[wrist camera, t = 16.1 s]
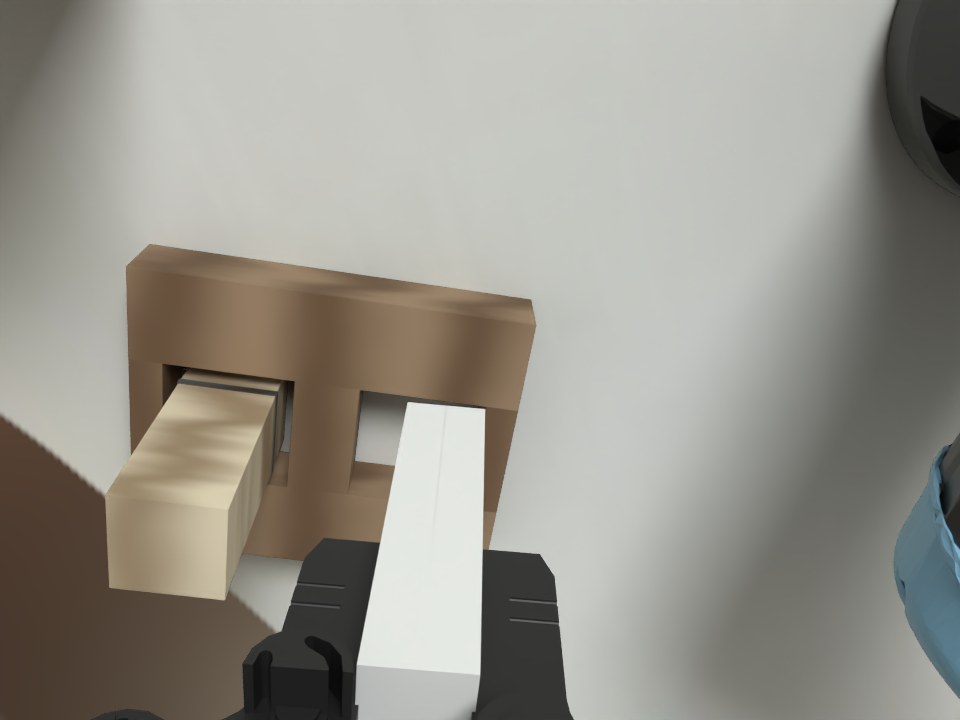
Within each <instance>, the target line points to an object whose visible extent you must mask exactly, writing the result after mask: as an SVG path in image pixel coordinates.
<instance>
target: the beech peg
mask: <svg viewBox="0 0 960 720" xmlns="http://www.w3.org/2000/svg"><path fill="white" fill-rule="evenodd" d="M287 387H288V380H282V379H274V378H267V377H259V376H252V375H244V374H237V373H229V372H222V371H214V370H207V369H199V368H192V367H189V368H188V369H187V371H186V372H185V374H184V375H183V377H182V378H181V379H179V380H178V382H177V386H176V388H175V389H174V391H173V392H172V394H171V395H170V397H169V398H168V400H167V401H166V403H165V405H164V406H163V408H162V409H161V411H160V412H159V414H158V415H157V417H156V418H155V420H154V421H153V423H152V424H151V426H150V427H149V429H148V431H147V432H146V434H145V435H144V437H143V438H142V440H141V441H140V443H139V444H138V446H137V447H136V449H135V450H134V452H133V454H132V455H131V457H130V458H129V460H128V461H127V463H126V464H125V466H124V467H123V469H122V470H121V472H120V473H119V475H118V476H117V478H116V480H115V481H114V483H113V484H112V486H111V487H110V489H109V490H108V492H107V493H106V495H105V499H106V522H107V544H108V567H109V587H110V588H116V589H126V590H135V591H144V592H153V593H162V594H173V595H181V596H190V597H200V598H209V599H217V600H225V599H226V596H227V593H228V590H229V588H230V585H231V582H232V579H233V577H234V574H235V571H236V568H237V566H238V563H239V560H240V557H241V555H242V552H243V549H244V546H245V544H246V541H247V538H248V535H249V533H250V530H251V527H252V524H253V522H254V519H255V516H256V513H257V511H258V508H259V505H260V502H261V500H262V497H263V494H264V491H265V489H266V486H267V483H268V480H269V478H270V476H272V473H273V467H274V464H275V461H276V458H277V456H278V453H279V450H280V447H281V445H282V442H283V439H284V431H285V416H286V402H287Z"/></svg>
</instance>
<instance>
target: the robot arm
mask: <svg viewBox="0 0 960 720" xmlns="http://www.w3.org/2000/svg"><path fill="white" fill-rule="evenodd" d="M886 86H887V95H888V102H889V107H890V112H891V115H892V119H893V122H894V125H895V128H896V130H897V133H898V135H899V137H900V139H901V141H902V144H903V145H904V147H905V149H906V150H907V152H908V154H909V155H910V156H911V158H912V159H913V160H914V162H915V163H916V164H917V165H918V166H919V168H920V169H921V170H922V171H923V172H924V173H925V174H926V175H927V176H929V177H930V178H931V179H932V180H933V181H935V182H936V183H937V184H939V185H940V186H942V187H943V188H945V189H946V190H948V191H950V192H952V193H954V194H956V195H958V196H960V0H899V3H898V6H897V9H896V12H895V15H894V19H893V23H892V27H891V32H890V37H889V42H888V50H887V61H886ZM484 444H485V409H478V408H467V407H456V406H445V405H434V404H423V403H412V402H408V403H407V408H406V413H405V418H404V423H403V428H402V434H401V439H400V444H399V449H398V454H397V459H396V465H395V470H394V475H393V480H392V485H391V490H390V496H389V501H388V506H387V511H386V516H385V521H384V527H383V532H382V537H381V542H380V543H379V542H367V541H355V540H344V539H332V538H323V539H322V541H321V542H320V543H319V544H318V545H317V546H316V547H315V548H314V549H313V550H312V551H311V552H310V553H309V554H308V555H307V556H306V557H305V558H304V562H303V565H302V568H301V571H300V574H299V578H298V581H297V586H296V587H295V590H294V593H293V597H292V600H291V606H289V609H288V612H287V616H286V619H285V622H284V625H283V628H282V631H281V632H279V633H276V634H273V635H270V636H268V637H267V638H265V639H264V640H263V641H262V642H260V643H259V644H257V645H256V646H255V647H253V648H252V649H251V651H250V653H249V654H248V656H247V657H246V659H245V661H244V662H243V689H244V708H242V709H241V710H240V711H238V712H236V713H234V714H232V715H230V716H229V717H227V718H225V719H222V720H574V719H573V717H572V715H571V714H570V711H569V707H568V703H567V698H566V688H565V678H564V668H563V658H562V648H561V638H560V628H559V617H558V607H557V597H556V587H555V577H554V575H553V574H552V572H551V571H550V569H549V568H548V566H547V565H546V563H545V561H544V560H543V558H542V557H541V555H540V554H531V553H520V552H508V551H496V550H485V549H483V499H484ZM894 576H895V581H896V585H897V589H898V593H899V595H900V597H901V599H902V601H903V603H904V604H905V614H906V618H907V620H908V622H909V625H910V627H911V629H912V630H913V632H914V634H915V636H916V638H917V640H918V642H919V643H920V645H921V647H922V649H923V650H924V652H925V653H926V655H927V656H928V658H929V660H930V661H931V662H932V664H933V665H934V667H935V668H936V670H937V671H938V672H939V674H940V675H941V676H942V678H943V679H944V681H945V682H946V683H947V684H948V686H949V687H950V688H951V689H952V691H953V692H954V693H955V694H956V695H957V697H958V698H959V699H960V433H959V435H958V436H957V438H956V439H955V441H954V442H953V444H951V445H949V446H945V447H943V449H942V450H941V451H940V452H939V454H938V455H937V456H936V458H935V459H934V461H933V464H932V467H931V469H930V477H929V482H928V484H927V486H926V488H925V489H924V491H923V493H922V495H921V496H920V498H919V500H918V501H917V503H916V505H915V507H914V508H913V510H912V512H911V514H910V515H909V517H908V519H907V521H906V522H905V524H904V526H903V528H902V530H901V532H900V534H899V536H898V539H897V543H896V547H895V552H894ZM92 720H163V719H162V718H160V717H158V716H156V715H154V714H152V713H151V712H149V711H142V710H133V709H124V710H120V711H114V712H109V713H104V714H102V715H100V716H98V717H96V718H94V719H92Z"/></svg>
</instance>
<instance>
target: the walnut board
mask: <svg viewBox="0 0 960 720" xmlns="http://www.w3.org/2000/svg"><path fill="white" fill-rule="evenodd" d="M126 283H127V320H128V357H129V394H130V431H131V455H132V454H133V452H134V450H135V449H136V447H137V446H138V444H139V443H140V441H141V440H142V438H143V437H144V435H145V434H146V432H147V431H148V429H149V427H150V426H151V424H152V423H153V421H154V420H155V418H156V417H157V415H158V414H159V412H160V411H161V409H162V408H163V406H164V405H165V403H166V401H167V400H168V398H169V397H170V395H171V394H172V392H173V391H174V389H175V388H176V386H177V382H178V380H179V379H181V378H182V366H184V367H192V368H199V369H207V370H214V371H222V372H229V373H237V374H244V375H252V376H259V377H267V378H274V379H282V380H289V381H295V386H294V399H293V413H292V427H291V440H290V453H286V452H279V453H278V456H277V458H276V461H275V464H274V467H273V473H272V476H270V478H269V480H268V483H267V486H266V489H265V491H264V494H263V497H262V500H261V502H260V505H259V508H258V511H257V513H256V516H255V519H254V522H253V524H252V527H251V530H250V533H249V535H248V538H247V541H246V544H245V546H244V549H243V552H242V554H249V555H257V556H266V557H275V558H284V559H293V560H301V561H304V558H305V557H306V556H307V555H308V554H309V553H310V552H311V551H312V550H313V549H314V548H315V547H316V546H317V545H318V544H319V543H320V542H321V541H322V539H323V538H332V539H344V540H355V541H367V542H379V543H380V542H381V537H382V532H383V527H384V521H385V516H386V511H387V506H388V501H389V496H390V490H391V485H392V480H393V475H394V470H395V466H389V465H381V464H374V463H366V462H358V461H355V455H356V446H357V438H358V429H359V420H360V412H361V403H362V394H363V390H364V391H372V392H379V393H387V394H394V395H402V396H409V397H417V398H424V399H432V400H439V401H447V402H454V403H462V404H469V405H477V406H480V407H479V409H485V444H484V499H483V549H485V550H488V549H489V545H490V540H491V535H492V531H493V526H494V521H495V516H496V512H497V507H498V502H499V498H500V493H501V488H502V484H503V479H504V474H505V469H506V465H507V460H508V455H509V451H510V446H511V441H512V437H513V432H514V427H515V422H516V418H517V413H518V408H519V404H520V399H521V394H522V390H523V385H524V380H525V375H526V371H527V366H528V361H529V357H530V352H531V347H532V343H533V338H534V333H535V329H536V322H535V317H534V312H533V307H532V302H531V300H529V299H522V298H515V297H508V296H501V295H495V294H488V293H481V292H474V291H467V290H460V289H453V288H447V287H440V286H433V285H426V284H419V283H412V282H405V281H399V280H392V279H385V278H378V277H371V276H364V275H357V274H351V273H344V272H337V271H330V270H323V269H316V268H309V267H303V266H296V265H289V264H282V263H275V262H268V261H261V260H255V259H248V258H241V257H234V256H227V255H220V254H213V253H207V252H200V251H193V250H186V249H179V248H172V247H165V246H159V245H152V244H149V245H148V246H147V247H146V248H145V249H144V250H143V251H142V252H141V253H140V254H139V255H138V256H137V257H136V258H135V259H133V260H132V261H131V262H130V263H129V264H128V265H127V266H126Z"/></svg>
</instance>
